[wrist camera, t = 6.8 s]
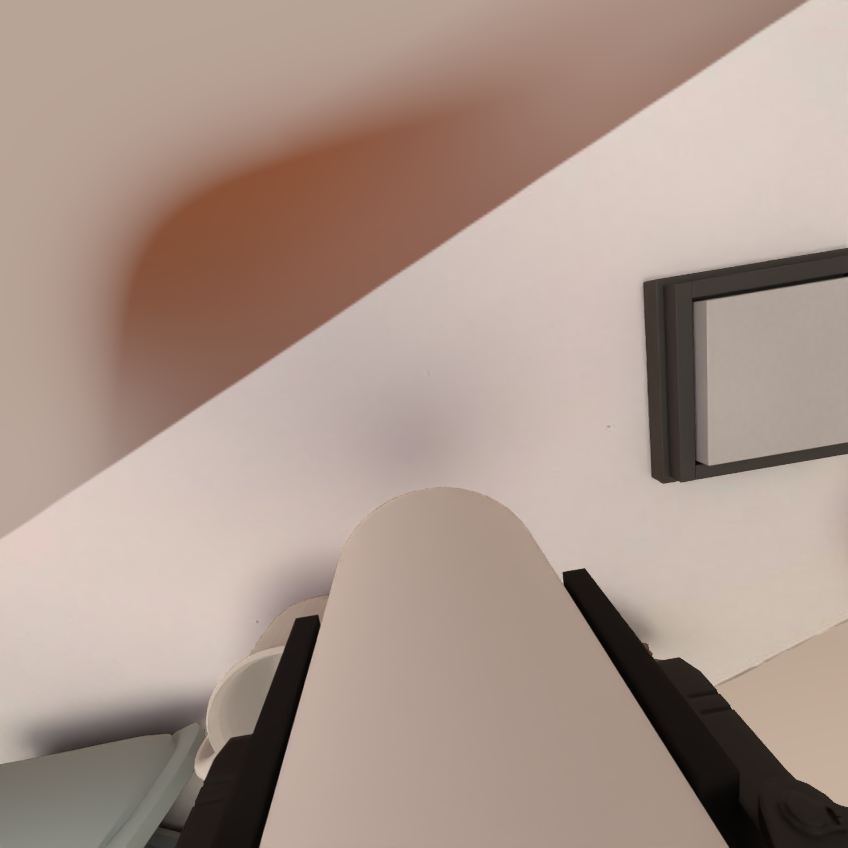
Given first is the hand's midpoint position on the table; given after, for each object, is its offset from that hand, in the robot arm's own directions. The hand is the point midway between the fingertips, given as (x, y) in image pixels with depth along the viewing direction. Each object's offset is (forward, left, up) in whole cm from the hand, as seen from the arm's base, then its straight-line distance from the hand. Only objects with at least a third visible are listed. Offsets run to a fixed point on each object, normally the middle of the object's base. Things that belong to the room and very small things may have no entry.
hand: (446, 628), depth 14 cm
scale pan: (-3, +27, -18) cm, 32 cm away
